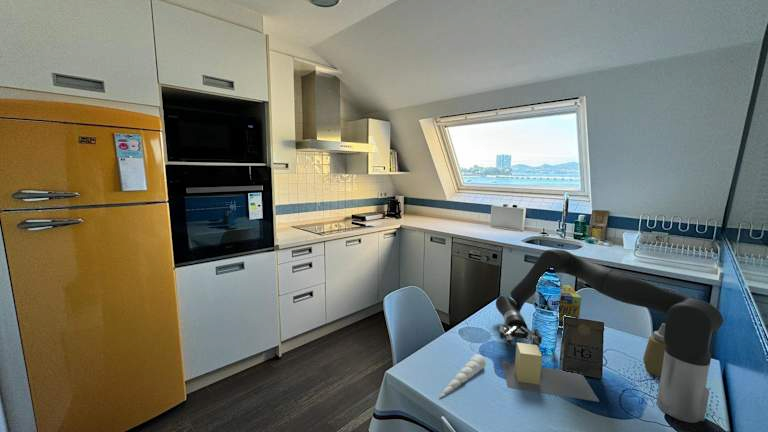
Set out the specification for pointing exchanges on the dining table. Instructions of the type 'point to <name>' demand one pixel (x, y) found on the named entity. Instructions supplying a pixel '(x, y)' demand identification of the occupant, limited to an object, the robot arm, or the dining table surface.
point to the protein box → (569, 303)
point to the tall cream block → (528, 363)
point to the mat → (552, 383)
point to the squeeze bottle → (655, 352)
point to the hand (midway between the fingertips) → (523, 344)
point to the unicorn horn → (466, 373)
